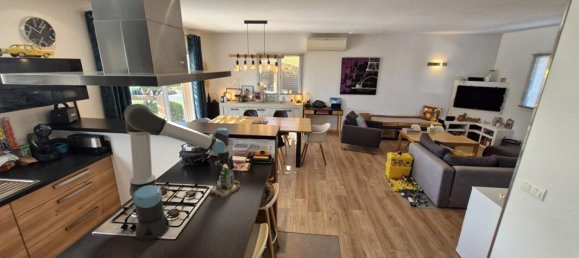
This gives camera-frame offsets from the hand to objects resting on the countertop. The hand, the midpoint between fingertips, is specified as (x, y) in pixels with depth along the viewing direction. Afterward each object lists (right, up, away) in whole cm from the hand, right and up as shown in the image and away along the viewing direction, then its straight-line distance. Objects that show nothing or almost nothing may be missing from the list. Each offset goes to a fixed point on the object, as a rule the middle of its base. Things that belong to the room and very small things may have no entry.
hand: (224, 181), depth 157 cm
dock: (0, -7, +2) cm, 7 cm away
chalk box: (0, -4, +1) cm, 4 cm away
